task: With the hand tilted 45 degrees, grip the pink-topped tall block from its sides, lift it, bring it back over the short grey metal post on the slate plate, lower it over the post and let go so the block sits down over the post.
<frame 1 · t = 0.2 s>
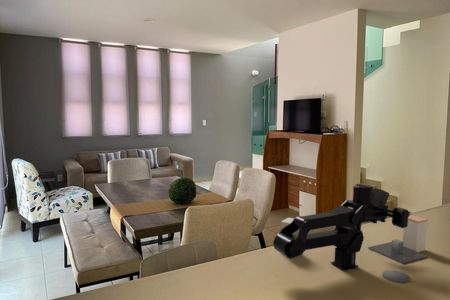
hand: (398, 210, 128), 16 cm above the table, tool horizontal, fingers open, 9 cm apart
skincare box: (288, 252, 131), on the table
pink-topped tall block: (413, 248, 134), on the table
slate coaster: (395, 276, 111), on the table
post plate: (396, 252, 130), on the table
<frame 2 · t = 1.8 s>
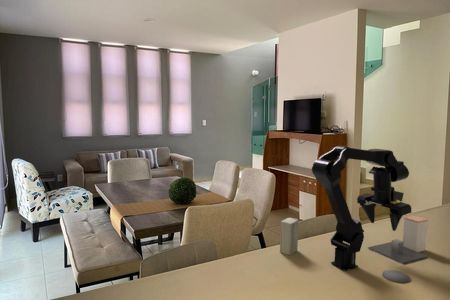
hand: (383, 226, 125), 11 cm above the table, tool pointing down, fingers open, 9 cm apart
nothing on the table moved.
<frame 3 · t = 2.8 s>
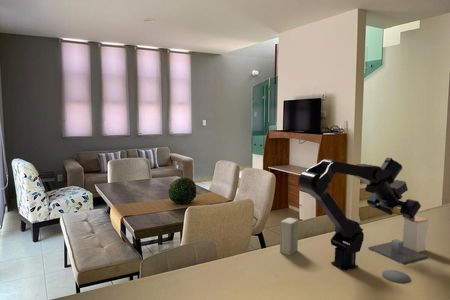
hand: (402, 217, 130), 13 cm above the table, tool tilted 45°, fingers open, 9 cm apart
nothing on the table moved.
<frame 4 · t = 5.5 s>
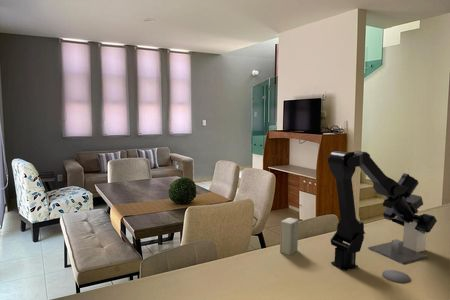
hand: (417, 230, 134), 7 cm above the table, tool tilted 45°, fingers closed on pink-topped tall block, 6 cm apart
pink-topped tall block: (413, 248, 134), on the table, touching gripper
everything else where it was.
when the fingers open (8 cm above the table, at t = 9.0 s): pink-topped tall block stays where it is, resting on post plate.
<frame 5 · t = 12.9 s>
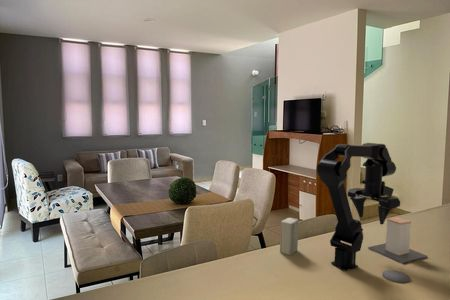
hand: (371, 220, 127), 13 cm above the table, tool pointing down, fingers open, 9 cm apart
pink-topped tall block: (397, 251, 130), point 1 cm above the table, touching post plate
everything else where it was.
at the end: pink-topped tall block 0.0 cm from the post plate (horizontally); pink-topped tall block point 0.6 cm above the table; the gripper is holding nothing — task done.
